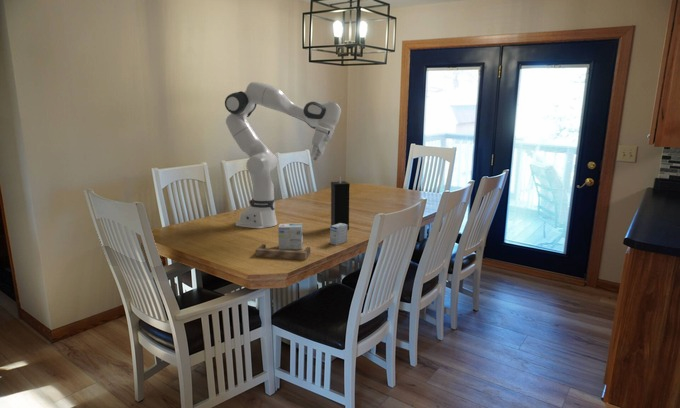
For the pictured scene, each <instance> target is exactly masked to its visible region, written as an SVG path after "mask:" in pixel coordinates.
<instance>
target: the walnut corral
mask: <svg viewBox="0 0 680 408" xmlns="http://www.w3.org/2000/svg"><path fill="white" fill-rule="evenodd" d="M266 247H267V246H266V244H263V243H262V244H261V245H260V246H258V247H257V248H256V249H255V256H256V257H259V258H261V257H262V258H273V259H274V258H275V259H285V260H286V259H288V260H300V261H305V260H307V259H308V258H309V257H310V255H311V247H309V246H307V247H305V249H304V250H303V251H301V250H279V249H275V248H273V249H272V248H266Z"/></svg>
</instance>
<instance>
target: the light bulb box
mask: <svg viewBox="0 0 680 408" xmlns="http://www.w3.org/2000/svg"><path fill="white" fill-rule="evenodd" d="M277 229H278V230H277V231H278V232H277V233H278V250H289V251H292V250H303V246H304V245H303V243H304V241H303V240H304V239H303V237H304V235H303V223H302V222H301V223H279V225H278V228H277Z"/></svg>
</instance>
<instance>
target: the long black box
mask: <svg viewBox="0 0 680 408" xmlns="http://www.w3.org/2000/svg"><path fill="white" fill-rule="evenodd" d="M330 187H331V188H330V190H331V192H330V207H331V208H330V226H332V225H335V224H339V223H343V224H347V225H348V226H347V231H349V229H350V188H351V187H350V183H349V182H347V181H345V180H344V181H342V177H341V176H339V181H330Z"/></svg>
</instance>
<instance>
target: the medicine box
mask: <svg viewBox="0 0 680 408" xmlns="http://www.w3.org/2000/svg"><path fill="white" fill-rule="evenodd" d="M347 226H348V225H347V224H343V223H339V224H335V225H332V226H331V225H330V226H329V241H330V242H329V244H331V245H334V246H338V245H341V244H343V243H347V242H348V230H347Z"/></svg>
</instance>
